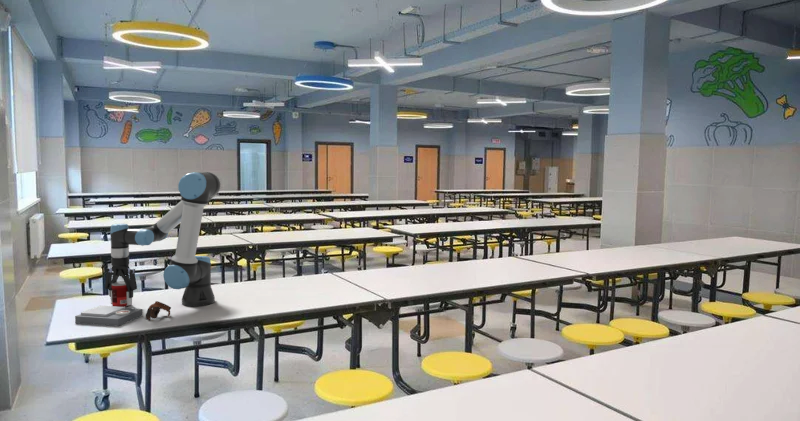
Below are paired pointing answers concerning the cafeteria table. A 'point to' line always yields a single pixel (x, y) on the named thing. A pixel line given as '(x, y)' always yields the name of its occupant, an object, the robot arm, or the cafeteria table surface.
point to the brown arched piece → (156, 310)
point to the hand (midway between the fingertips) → (121, 304)
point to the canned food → (119, 294)
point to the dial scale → (108, 315)
